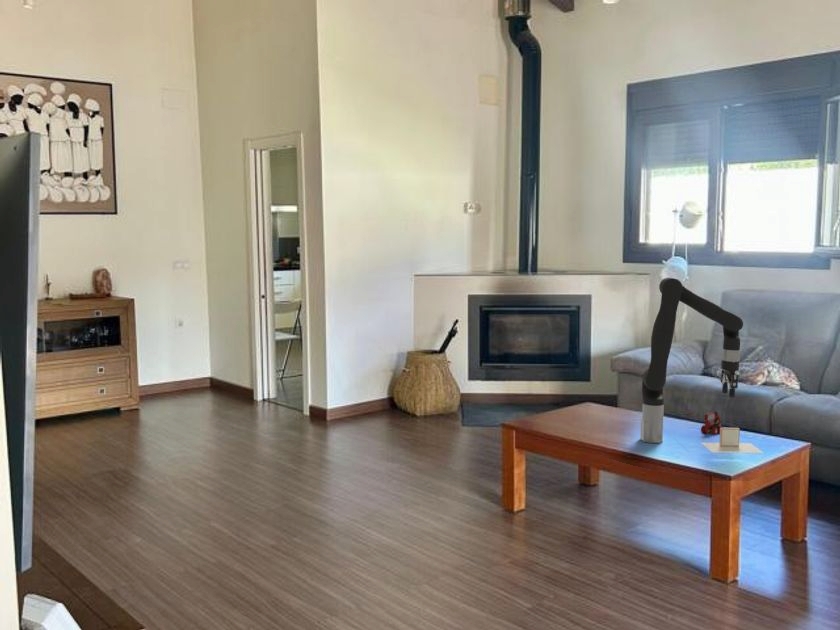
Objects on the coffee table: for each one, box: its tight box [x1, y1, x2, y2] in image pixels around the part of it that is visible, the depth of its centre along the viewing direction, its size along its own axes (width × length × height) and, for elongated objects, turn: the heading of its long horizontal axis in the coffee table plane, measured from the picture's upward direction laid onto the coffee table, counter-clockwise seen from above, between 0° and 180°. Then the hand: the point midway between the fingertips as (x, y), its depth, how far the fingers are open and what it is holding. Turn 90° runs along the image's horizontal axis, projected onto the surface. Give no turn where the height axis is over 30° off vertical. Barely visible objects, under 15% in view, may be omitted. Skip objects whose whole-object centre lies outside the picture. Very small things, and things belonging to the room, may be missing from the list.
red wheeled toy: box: [700, 411, 725, 435], centre depth 372 cm, size 7×12×10 cm, turn 129°
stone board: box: [700, 442, 764, 454], centre depth 345 cm, size 22×16×1 cm
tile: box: [718, 427, 741, 446], centre depth 347 cm, size 8×2×8 cm, turn 88°
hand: (728, 395), depth 353 cm, fingers open, 8 cm apart
